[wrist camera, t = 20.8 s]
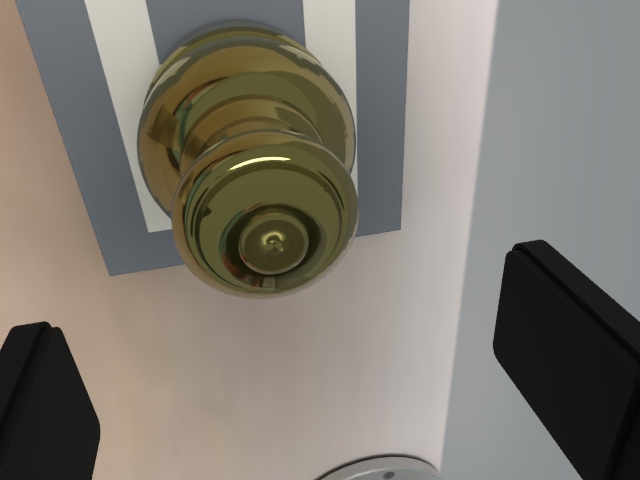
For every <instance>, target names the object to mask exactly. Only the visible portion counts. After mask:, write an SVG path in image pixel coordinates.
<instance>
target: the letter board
mask: <svg viewBox="0 0 640 480" xmlns="http://www.w3.org/2000/svg"><path fill="white" fill-rule="evenodd" d="M15 2H16V5H17V8H18V11H19V14H20V17H21V20H22V23H23V25H24V28H25V31H26V34H27V37H28V40H29V43H30V46H31V49H32V52H33V55H34V57H35V60H36V63H37V66H38V69H39V72H40V75H41V78H42V81H43V84H44V87H45V89H46V92H47V95H48V98H49V101H50V104H51V107H52V110H53V113H54V116H55V118H56V121H57V124H58V127H59V130H60V133H61V136H62V139H63V142H64V145H65V148H66V150H67V153H68V156H69V159H70V162H71V165H72V168H73V171H74V174H75V177H76V180H77V182H78V185H79V188H80V191H81V194H82V197H83V200H84V203H85V206H86V209H87V211H88V214H89V217H90V220H91V223H92V226H93V229H94V232H95V235H96V238H97V241H98V243H99V246H100V249H101V252H102V255H103V258H104V261H105V264H106V267H107V270H108V273H109V275H110V276H114V275H120V274H126V273H133V272H139V271H145V270H152V269H158V268H164V267H170V266H177V265H183V264H185V263H184V261H183V260H182V258H181V256H180V254H179V252H178V250H177V247H176V244H175V241H174V237H173V232H172V226H171V219H170V218H169V217H168V216H167V215H166V214H165V213H164V212H163V211H162V210H161V209H160V207H159V206H158V205H157V204H156V202H155V201H154V199H153V198H152V196H151V194H150V193H149V191H148V189H147V187H146V184H145V182H144V180H143V177H142V174H141V171H140V167H139V162H138V156H137V132H138V126H139V121H140V117H141V113H142V110H143V105H144V100H145V97H146V94H147V91H148V88H149V86H150V84H151V82H152V79H153V77H154V74H155V72H156V70H157V68H158V66H159V64H160V63H161V61H162V60H163V58H164V57H165V56H166V54H167V53H168V52H169V51H170V50H171V49H172V48H173V47H174V46H175V45H176V44H177V43H178V42H179V41H180V40H182V39H183V38H184V37H186V36H187V35H189V34H190V33H192V32H194V31H196V30H197V29H200V28H202V27H204V26H207V25H210V24H213V23H218V22H222V21H230V20H245V21H254V22H259V23H263V24H266V25H269V26H272V27H275V28H277V29H279V30H281V31H283V32H285V33H286V34H288V35H290V36H291V37H292V38H294V39H295V40H296V41H298V42H299V43H300V44H301V45H302V46H303V47H304V48H306V49H307V50H308V51H309V52H310V53H312V54H313V55H314V56H315V57H316V58H317V59H318V61H319V62H320V63H321V64H322V65H323V67H324V68H325V69H326V70H327V71H328V72H329V73H330V74H331V76H332V77H333V78H334V79H335V81H336V82H337V83H338V85H339V86H340V88H341V89H342V91H343V93H344V95H345V97H346V99H347V101H348V103H349V106H350V108H351V111H352V115H353V118H354V123H355V130H356V154H355V160H354V165H353V169H352V172H351V175H350V176H351V178H352V180H353V182H354V186H355V189H356V193H357V197H358V203H359V220H358V226H357V230H356V234H355V237H358V236H365V235H371V234H377V233H383V232H390V231H396V230H401V205H402V180H403V155H404V129H405V104H406V79H407V54H408V28H409V3H410V0H15Z"/></svg>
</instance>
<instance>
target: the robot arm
mask: <svg viewBox="0 0 640 480" xmlns="http://www.w3.org/2000/svg"><path fill="white" fill-rule="evenodd" d="M493 350H494V354H495V356H496V358H497V360H498V362H499V363H500V364H501V366H502V367H503V369H504V370H505V371H506V373H507V374H508V376H509V377H510V379H511V380H512V381H513V383H514V384H515V385H516V387H517V388H518V390H519V391H520V392H521V394H522V395H523V397H524V398H525V400H526V401H527V402H528V404H529V405H530V407H531V408H532V409H533V411H534V412H535V413H536V415H537V416H538V418H539V419H540V420H541V422H542V423H543V425H544V426H545V427H546V429H547V430H548V432H549V433H550V434H551V436H552V437H553V439H554V440H555V441H556V443H557V444H558V446H559V447H560V449H561V450H562V451H563V453H564V454H565V455H566V457H567V458H568V460H569V461H570V463H571V464H572V465H573V467H574V468H575V469H576V471H577V472H578V474H579V475H580V477H581V478H582V479H583V480H640V322H639V321H638V320H637V319H636V318H635V317H633V316H632V315H631V314H630V313H629V312H627V311H626V310H625V309H624V308H623V307H622V306H620V305H619V304H618V303H617V302H616V301H615V300H614V299H612V298H611V297H610V296H609V295H608V294H607V293H605V292H604V291H603V290H602V289H601V288H599V287H598V286H597V285H596V284H595V283H594V282H593V281H591V280H590V279H589V278H588V277H587V276H585V275H584V274H583V273H582V272H581V271H580V270H579V269H577V268H576V267H575V266H574V265H573V264H572V263H570V262H569V261H568V260H567V259H566V258H565V257H563V256H562V255H561V254H560V253H559V252H558V251H556V250H555V249H554V248H553V247H552V246H551V245H549V244H548V243H547V242H546V241H544V240H535V241H529V242H523V243H517V244H515V245H514V247H513V248H512V251H509V252H508V253H507V254H506V258H505V265H504V271H503V278H502V285H501V293H500V298H499V305H498V312H497V319H496V326H495V332H494V340H493ZM99 441H100V424H99V420H98V417H97V415H96V412H95V410H94V407H93V405H92V403H91V400H90V398H89V395H88V393H87V390H86V388H85V386H84V383H83V381H82V378H81V376H80V373H79V371H78V369H77V366H76V364H75V361H74V359H73V356H72V354H71V352H70V349H69V347H68V344H67V342H66V339H65V337H64V335H63V332H62V330H61V329H60V328H59V327H53V328H52V327H51V325H50V324H49V323H48V322H45V321H44V322H38V323H32V324H26V325H20V326H15V327H13V328H12V329H11V330H10V332H9V334H8V336H7V338H6V340H5V342H4V344H3V346H2V348H1V350H0V480H92V475H93V470H94V465H95V460H96V456H97V451H98V446H99ZM321 480H442V478H441V476H440V474H439V473H438V472H437V470H436V469H434V468H433V467H432V466H430V465H429V464H427V463H425V462H422V461H420V460H416V459H411V458H406V457H384V458H375V459H370V460H366V461H361V462H358V463H355V464H352V465H349V466H346V467H344V468H341V469H339V470H337V471H335V472H333V473H331V474H329V475H327V476H326V477H324V478H323V479H321Z"/></svg>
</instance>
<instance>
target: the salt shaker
mask: <svg viewBox="0 0 640 480" xmlns="http://www.w3.org/2000/svg"><path fill="white" fill-rule="evenodd" d="M355 154H356V130H355V123H354V118H353V115H352V111H351V108H350V106H349V103H348V101H347V99H346V97H345V95H344V93H343V91H342V89H341V88H340V86H339V85H338V83H337V82H336V81H335V79H334V78H333V77H332V76H331V74H330V73H329V72H328V71H327V70H326V69H325V68H324V67H323V65H322V64H321V63H320V62H319V61H318V59H317V58H316V57H315V56H314V55H313V54H312V53H310V52H309V51H308V50H307V49H306V48H304V47H303V46H302V45H301V44H300V43H299V42H298V41H296V40H295V39H294V38H292V37H291V36H290V35H288V34H286V33H285V32H283V31H281V30H279V29H277V28H275V27H272V26H269V25H266V24H263V23H259V22H254V21H245V20H230V21H222V22H218V23H213V24H210V25H207V26H204V27H202V28H200V29H197V30H196V31H194V32H192V33H190V34H189V35H187V36H186V37H184V38H183V39H182V40H180V41H179V42H178V43H177V44H176V45H175V46H174V47H173V48H172V49H171V50H170V51H169V52H168V53H167V54H166V56H165V57H164V58H163V60H162V61H161V63H160V64H159V66H158V68H157V70H156V72H155V74H154V77H153V79H152V82H151V84H150V86H149V88H148V91H147V94H146V97H145V100H144V105H143V110H142V113H141V117H140V121H139V126H138V132H137V156H138V162H139V167H140V171H141V174H142V177H143V180H144V182H145V184H146V187H147V189H148V191H149V193H150V194H151V196H152V198H153V199H154V201H155V202H156V204H157V205H158V206H159V207H160V209H161V210H162V211H163V212H164V213H165V214H166V215H167V216H168V217H169V218H170V219H171V226H172V232H173V237H174V241H175V244H176V247H177V250H178V252H179V254H180V256H181V258H182V260H183V261H184V263H185V264H186V266H187V267H188V268H189V269H190V271H191V272H192V273H193V274H194V275H195V276H197V277H198V278H199V279H200V280H201V281H203V282H204V283H206V284H207V285H209V286H210V287H212V288H214V289H216V290H218V291H220V292H223V293H225V294H228V295H232V296H236V297H240V298H247V299H271V298H278V297H283V296H287V295H290V294H294V293H296V292H299V291H301V290H304V289H306V288H308V287H310V286H312V285H313V284H315V283H317V282H318V281H320V280H321V279H322V278H324V277H325V276H326V275H328V274H329V273H330V272H331V271H332V270H333V269H334V268H335V267H336V266H337V265H338V264H339V263H340V261H341V260H342V259H343V257H344V256H345V255H346V253H347V251H348V250H349V248H350V246H351V244H352V242H353V239H354V237H355V234H356V230H357V226H358V220H359V203H358V197H357V193H356V189H355V186H354V182H353V180H352V178H351V176H350V175H351V172H352V169H353V165H354V160H355Z"/></svg>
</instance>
